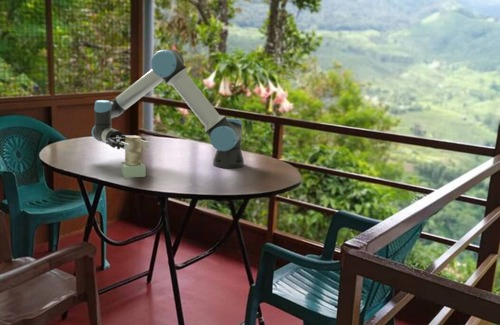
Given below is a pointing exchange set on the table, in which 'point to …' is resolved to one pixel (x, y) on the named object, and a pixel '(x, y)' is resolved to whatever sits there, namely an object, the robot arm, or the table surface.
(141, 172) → the sage block
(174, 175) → the table surface
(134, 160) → the birch block
